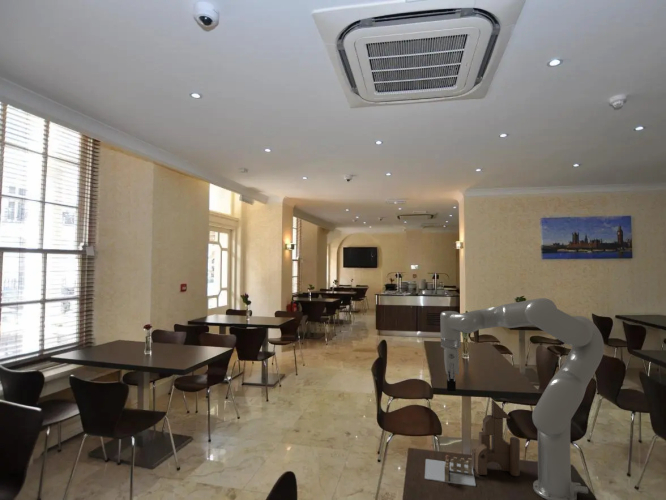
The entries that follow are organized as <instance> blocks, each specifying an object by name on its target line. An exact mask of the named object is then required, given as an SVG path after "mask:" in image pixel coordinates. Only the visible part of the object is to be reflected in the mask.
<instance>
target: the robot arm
mask: <svg viewBox="0 0 666 500" xmlns="http://www.w3.org/2000/svg"><path fill="white" fill-rule="evenodd" d="M439 317H440V322H439V323H440V348H443V356H444V357H443V358H444V369H445V370H444V371H445V373H446V375H447V378H446V390H447V392H456V391H457V387H456V386H457V385H456V384H457V383H456V382H457V381H456V375H457V376H458V375H460V357H459V349H461V347H462V346H461V345H462V341H461V338H462V337H461V333H465V334H472V333H474V332H477V331H479V330H484V329H490V328H499V327H502V328H503V327H504V328H507V329H512V328H513V329H515V328H519V327H526V326H535V327H536V328H538V329H540V330H541V331H543V332H544V333H546V334H549V335H550V336H552V337H554V338H556V339H557V340H559V341H560V342H563V343H564V344H566V345H569V346H571V349H570V351H569V353H568V355H567V356H566V358H565V360H564V361H563V363H562V365H561V367H560V369H558V371H557V372H556V373H555V374H554V375H553V376H552V378H551V379H550V381H549V382H548V385H547V386H546V388H545V389H544V391H543V392H542V395H541V396H540V398H539V399H538V402H537V404H535V406H534V409H533V410H532V414H531V418H532V423H533V425H534V426H535V428H536V430H537V479H536V480H534V481H533V484H532V485H533V486H532V488H533V490H534V492H535V493H536V494H537V495H538V496H539V497H541V498H543V499H545V500H577V498H578V497H577V494H578V493H581V494H587V495H588V494H589V488H588V487H587V486H582V484H581V483H580V482H573V480H572V477H571V476H572V475H571V473H572V472H571V469H572V467H571V465H572V464H571V424H572V418H573V417H574V415H575V414H576V412H577V410H578V409H579V407H580V405H581V403H582V402H583V399H584V397H585V393H586V390H587V387H588V385H589V383H590V382H591V380H592V378H593V377H594V375H595V372H596V371H597V369H598V367H599V365H600V363H601V361H602V358H603V356H604V353H605V352H604V350H605V342H604V338H603V335H602V333H601V331H600V329H599V328H598V327H597V325H596V324H595V323H594V322H593V321H592V320H591V319H589V318H587V317H585V316H582V315H575V316H571V315H570V314H568V313H566V312H564V311H563V310H560V309H558V306H557V305H556V304H555V302H554V301H553V300H552V299H550V298H544V297H541V298H534V299H530V300H529V299H528V300H523V301H517V302H511V303H507V304H506V303H505V304H501V305H498V306H494V307H488V308H482V309H475V310H471V311H468V312H464V313H463V312H461V313H459V312H458V311H454V310H445V311H441V312H440V315H439Z"/></svg>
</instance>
